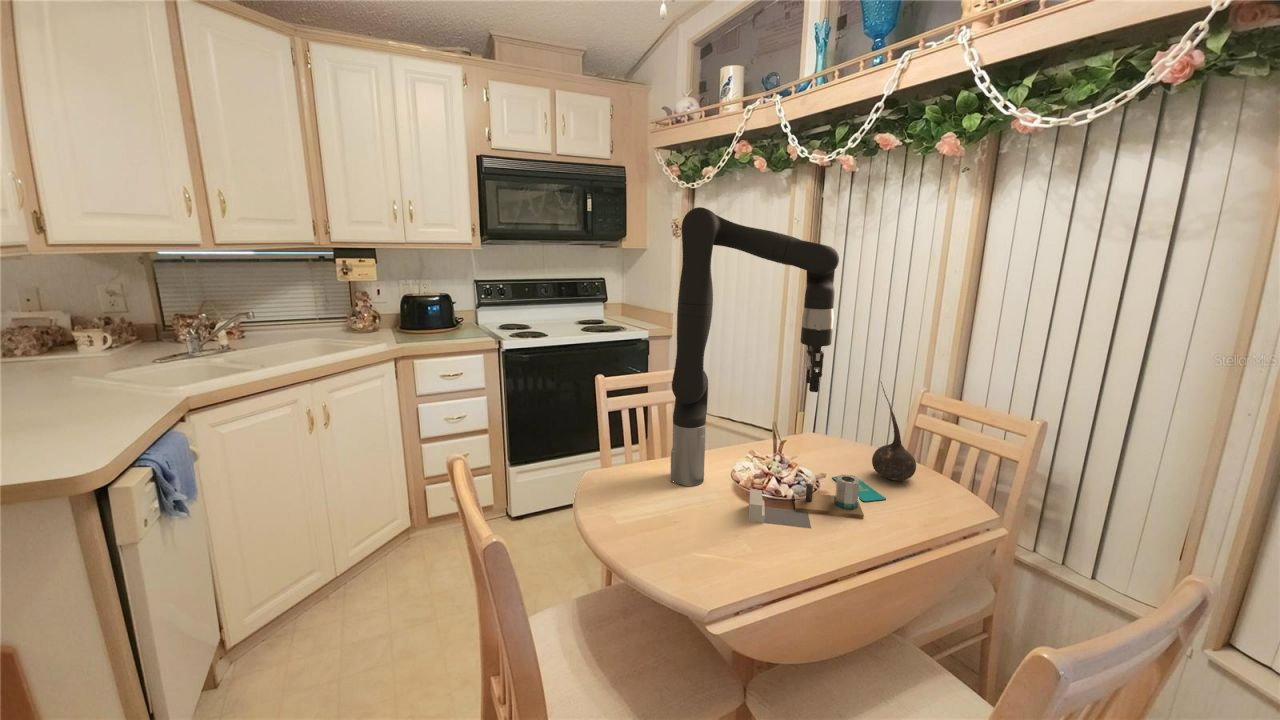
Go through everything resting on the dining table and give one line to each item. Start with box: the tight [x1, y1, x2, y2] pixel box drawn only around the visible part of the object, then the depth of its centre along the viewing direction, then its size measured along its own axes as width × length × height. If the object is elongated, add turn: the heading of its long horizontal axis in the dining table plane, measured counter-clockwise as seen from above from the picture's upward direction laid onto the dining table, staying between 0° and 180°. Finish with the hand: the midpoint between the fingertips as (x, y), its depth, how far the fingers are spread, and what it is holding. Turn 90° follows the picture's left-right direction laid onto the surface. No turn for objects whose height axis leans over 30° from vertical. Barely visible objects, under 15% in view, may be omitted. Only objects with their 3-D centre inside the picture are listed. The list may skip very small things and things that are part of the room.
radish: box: [871, 380, 917, 482], centre depth 145 cm, size 11×14×30 cm
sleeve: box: [834, 474, 860, 510], centre depth 129 cm, size 5×5×7 cm
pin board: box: [793, 482, 865, 519], centre depth 130 cm, size 16×9×6 cm, turn 77°
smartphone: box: [831, 474, 887, 503], centre depth 141 cm, size 7×1×15 cm
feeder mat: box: [748, 488, 812, 529], centre depth 125 cm, size 14×8×5 cm, turn 77°
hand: (811, 387), depth 132 cm, fingers open, 8 cm apart
